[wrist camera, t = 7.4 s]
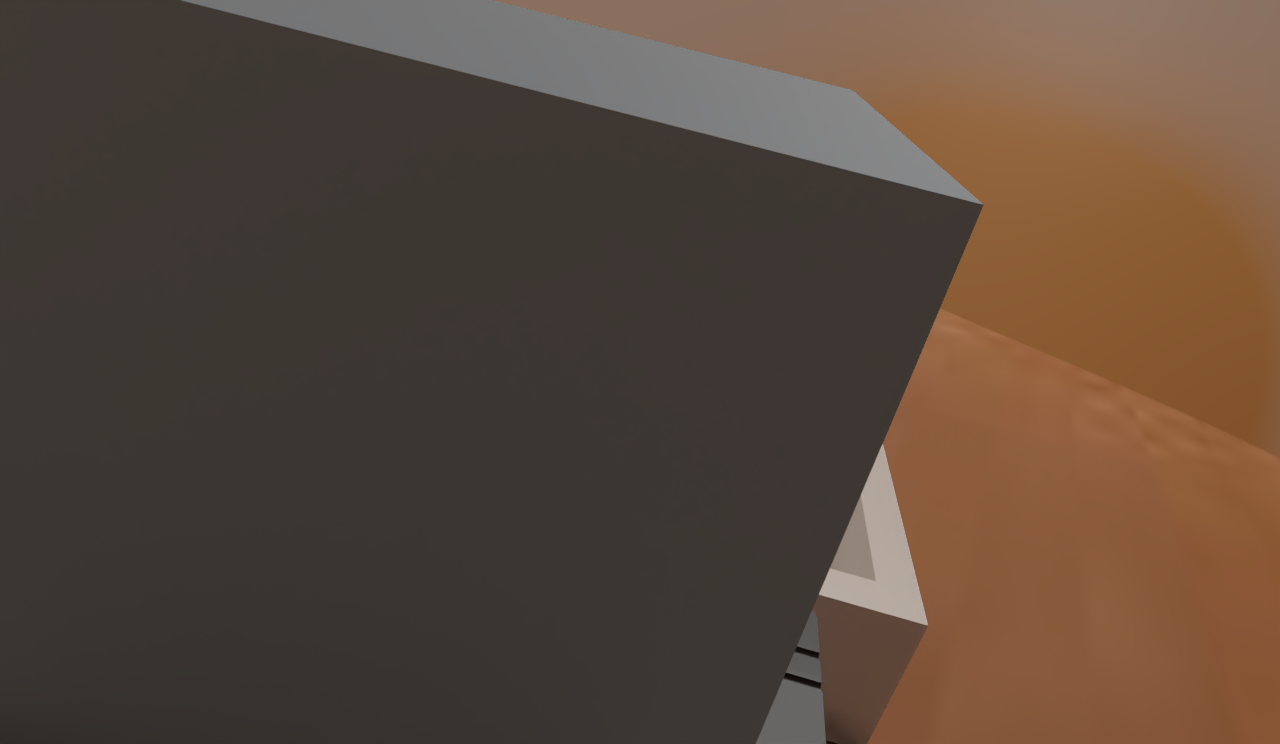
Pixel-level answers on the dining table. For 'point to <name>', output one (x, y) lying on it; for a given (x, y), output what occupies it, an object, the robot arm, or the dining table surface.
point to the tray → (867, 614)
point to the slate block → (432, 371)
